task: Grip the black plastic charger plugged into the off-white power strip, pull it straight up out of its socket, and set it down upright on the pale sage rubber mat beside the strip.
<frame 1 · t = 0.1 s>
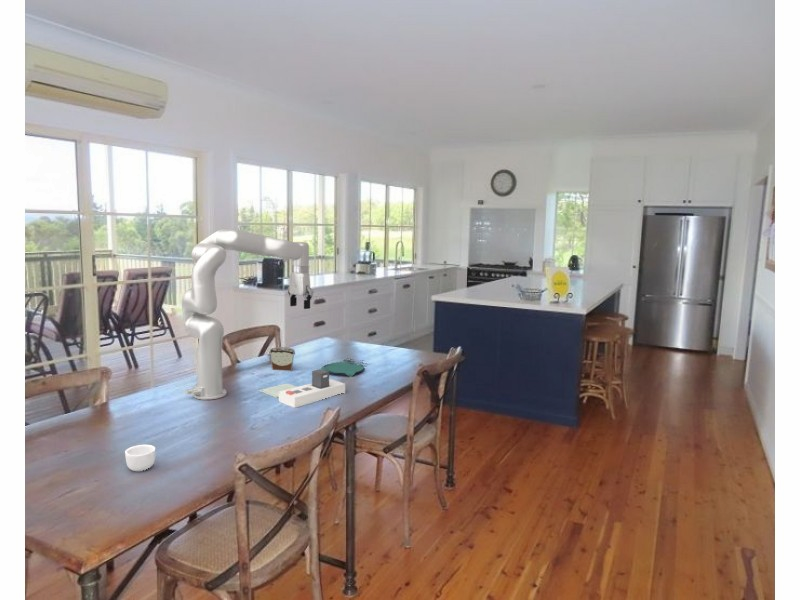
hand: (300, 307, 248), 31 cm above the table, tool pointing down, fingers open, 9 cm apart
power strip: (312, 397, 220), on the table
teacup: (138, 467, 155), on the table
charger: (320, 390, 223), point 2 cm above the table, touching power strip
mat: (282, 390, 227), on the table
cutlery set: (348, 369, 264), on the table
food container: (283, 369, 260), on the table
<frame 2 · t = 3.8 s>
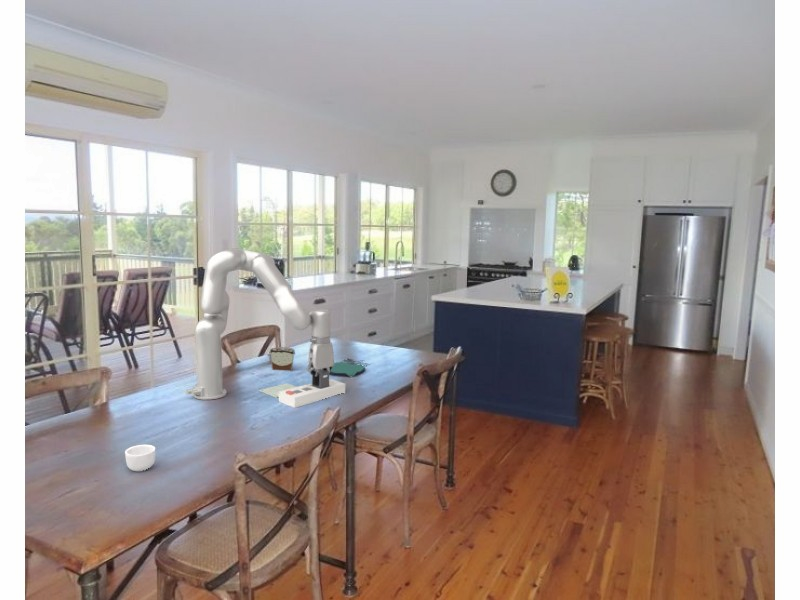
hand: (320, 383, 222), 5 cm above the table, tool pointing down, fingers closed on charger, 4 cm apart
charger: (320, 390, 223), point 2 cm above the table, touching gripper, power strip
everything else where it was.
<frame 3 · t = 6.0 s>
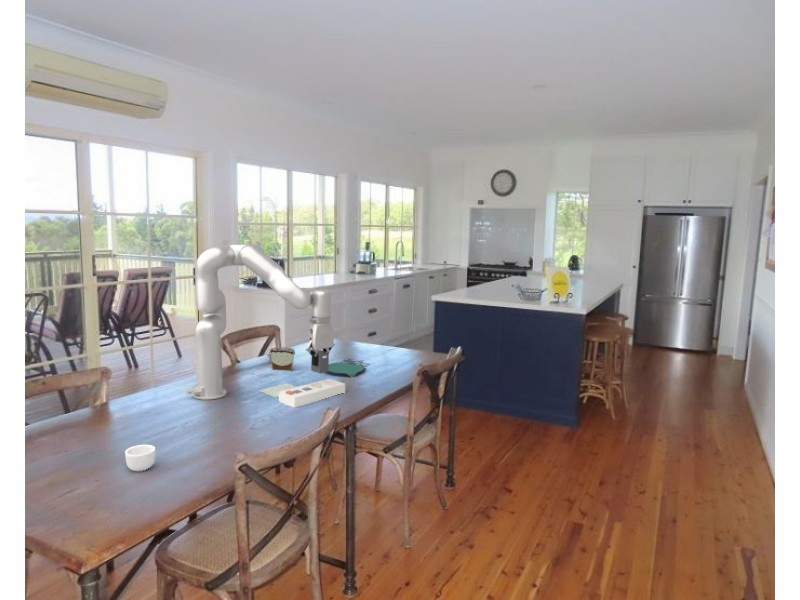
hand: (319, 364, 221), 13 cm above the table, tool pointing down, fingers closed on charger, 4 cm apart
charger: (319, 371, 222), point 10 cm above the table, touching gripper
everything else where it was.
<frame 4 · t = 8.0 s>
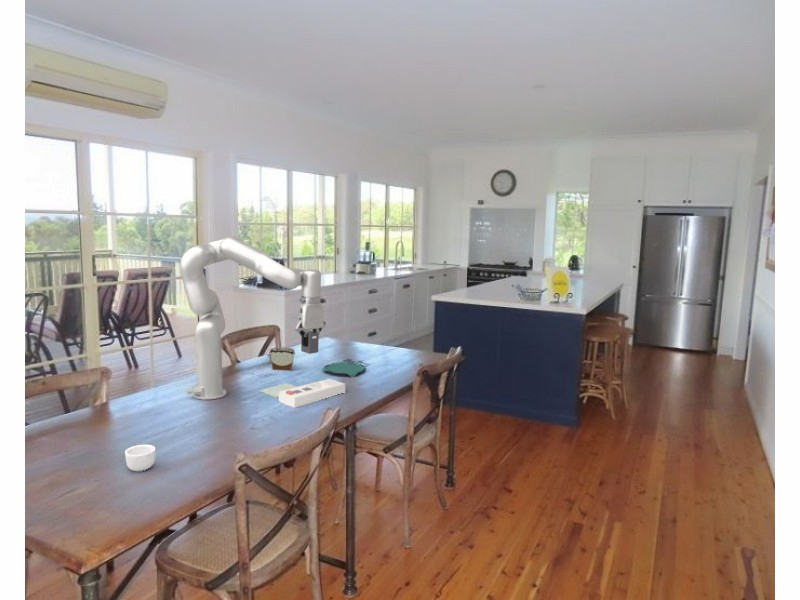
hand: (309, 344, 221), 21 cm above the table, tool pointing down, fingers closed on charger, 4 cm apart
charger: (309, 351, 221), point 18 cm above the table, touching gripper
everything else where it was.
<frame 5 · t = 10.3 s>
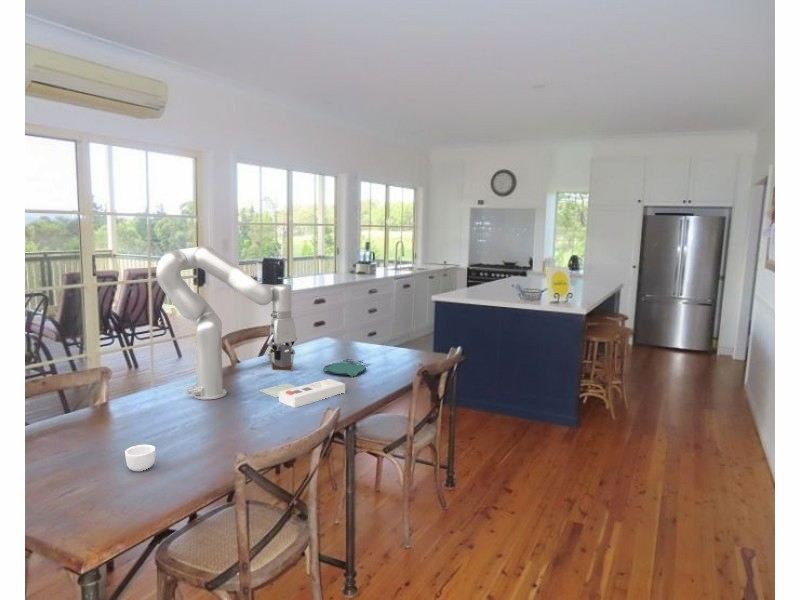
hand: (282, 358, 225), 14 cm above the table, tool pointing down, fingers closed on charger, 4 cm apart
charger: (282, 365, 225), point 11 cm above the table, touching gripper
everything else where it was.
when the fingers open (5 cm above the table, at t = 12.3 s): charger drops 1 cm, resting on mat.
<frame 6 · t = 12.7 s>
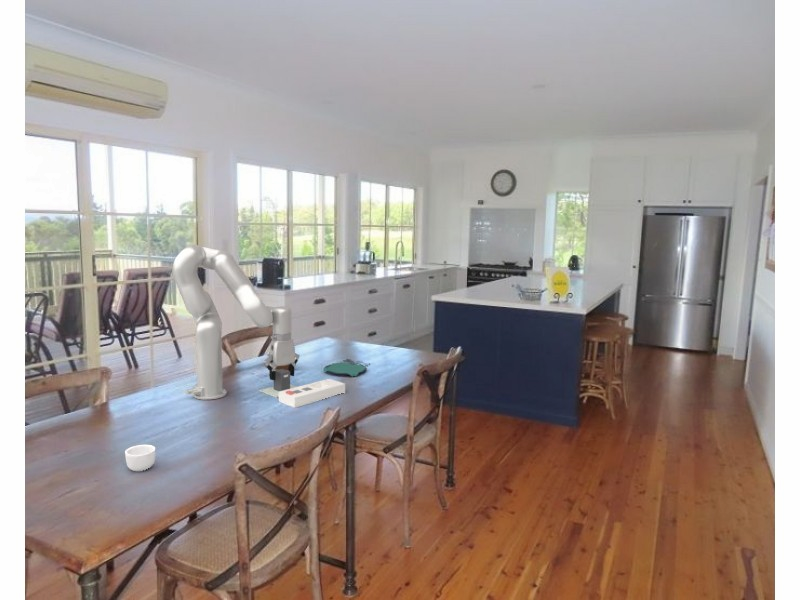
hand: (282, 377, 226), 6 cm above the table, tool pointing down, fingers open, 9 cm apart
charger: (281, 389, 227), resting on mat
everything else where it was.
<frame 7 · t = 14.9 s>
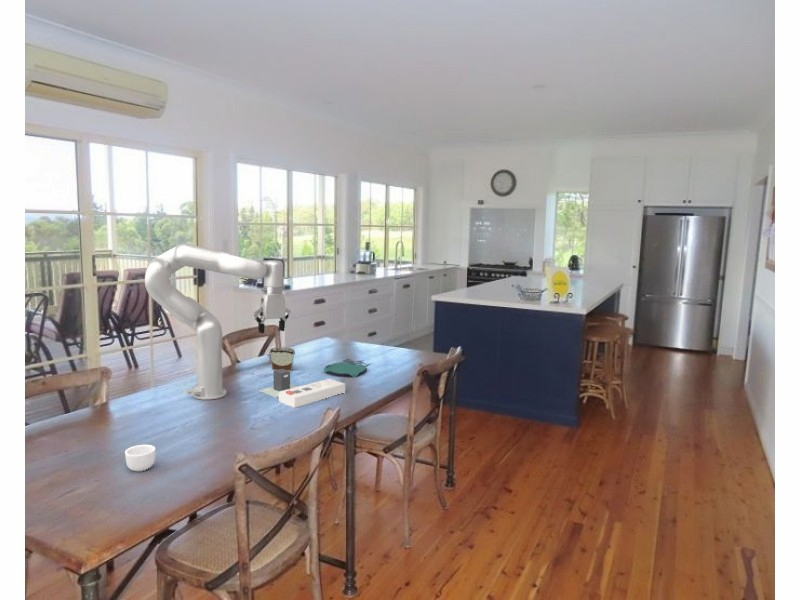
hand: (271, 331, 225), 24 cm above the table, tool pointing down, fingers open, 9 cm apart
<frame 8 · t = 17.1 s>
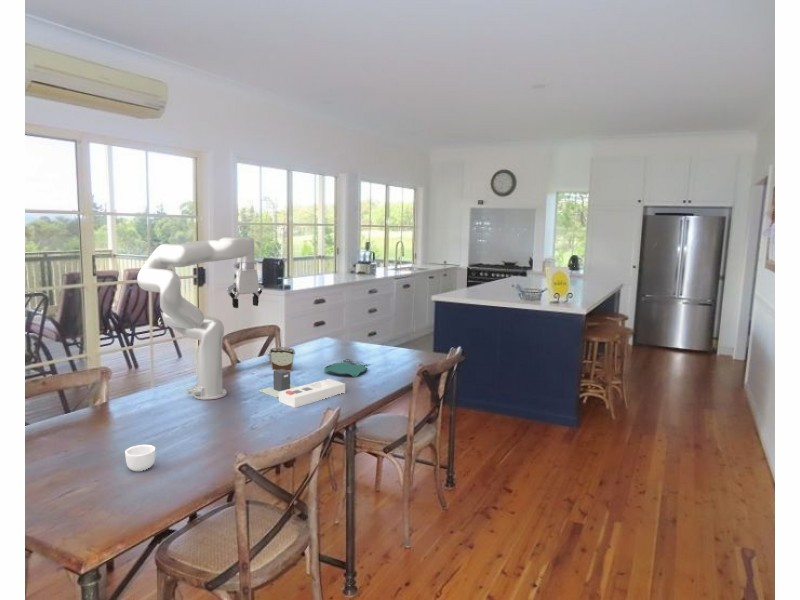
hand: (245, 306, 232), 33 cm above the table, tool pointing down, fingers open, 9 cm apart
at the end: charger inside the target area on the mat (0.1 cm from its centre), point 0.5 cm above the mat's base; the gripper is holding nothing; charger tilted 0° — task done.
